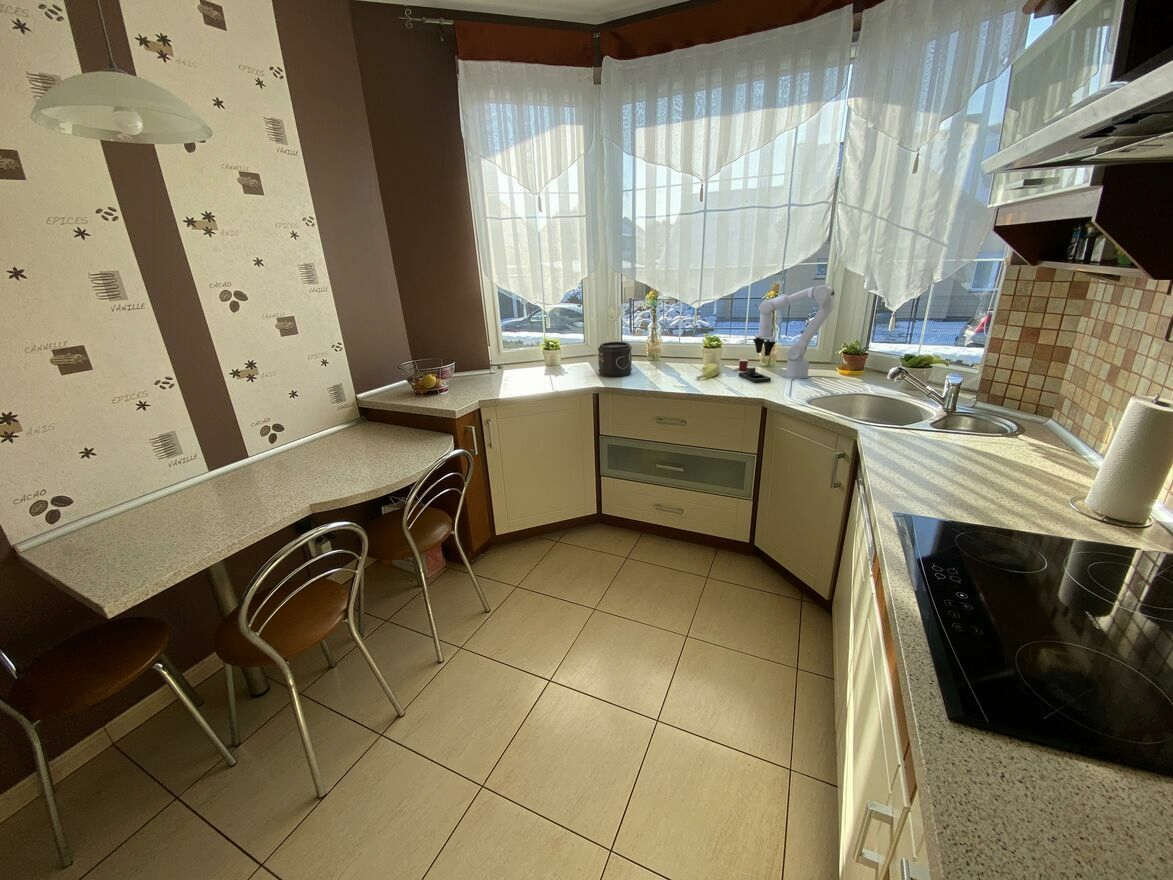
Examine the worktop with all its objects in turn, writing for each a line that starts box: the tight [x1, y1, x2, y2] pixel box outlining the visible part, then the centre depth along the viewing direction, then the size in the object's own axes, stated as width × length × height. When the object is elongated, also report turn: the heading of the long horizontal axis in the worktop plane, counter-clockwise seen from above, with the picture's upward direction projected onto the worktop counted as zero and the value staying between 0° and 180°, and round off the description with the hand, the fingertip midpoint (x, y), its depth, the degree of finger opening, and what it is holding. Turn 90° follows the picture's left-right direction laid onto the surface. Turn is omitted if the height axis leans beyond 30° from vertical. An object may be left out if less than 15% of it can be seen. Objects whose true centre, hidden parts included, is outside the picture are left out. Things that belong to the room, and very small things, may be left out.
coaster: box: [734, 367, 747, 373], centre depth 247 cm, size 8×8×1 cm
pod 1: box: [738, 358, 749, 371], centre depth 246 cm, size 4×4×5 cm
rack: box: [738, 371, 772, 384], centre depth 229 cm, size 15×8×2 cm, turn 12°
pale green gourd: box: [696, 362, 720, 381], centre depth 241 cm, size 14×6×20 cm
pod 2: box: [746, 365, 757, 375], centre depth 231 cm, size 4×4×5 cm
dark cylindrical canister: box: [597, 341, 633, 378], centre depth 252 cm, size 18×18×16 cm
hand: (763, 354), depth 236 cm, fingers open, 7 cm apart
